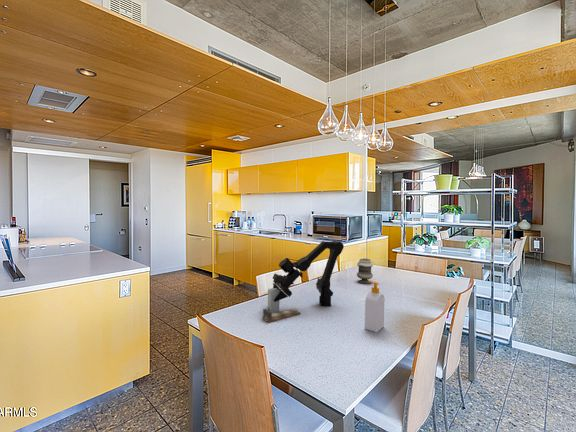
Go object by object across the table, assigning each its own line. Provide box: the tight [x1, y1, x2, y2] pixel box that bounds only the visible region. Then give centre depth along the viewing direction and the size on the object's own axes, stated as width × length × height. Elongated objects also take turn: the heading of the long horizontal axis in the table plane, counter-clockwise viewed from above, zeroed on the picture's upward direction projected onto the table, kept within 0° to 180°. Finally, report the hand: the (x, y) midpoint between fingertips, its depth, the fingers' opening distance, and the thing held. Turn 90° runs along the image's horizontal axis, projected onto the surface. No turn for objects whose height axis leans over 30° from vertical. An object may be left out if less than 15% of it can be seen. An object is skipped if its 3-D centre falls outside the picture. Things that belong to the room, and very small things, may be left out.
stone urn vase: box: [356, 257, 374, 285], centre depth 222 cm, size 12×12×18 cm
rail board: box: [262, 307, 302, 323], centre depth 155 cm, size 20×7×5 cm, turn 126°
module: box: [267, 287, 280, 314], centre depth 162 cm, size 5×6×12 cm
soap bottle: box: [364, 280, 386, 333], centre depth 142 cm, size 9×7×23 cm
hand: (271, 298), depth 162 cm, fingers open, 9 cm apart
